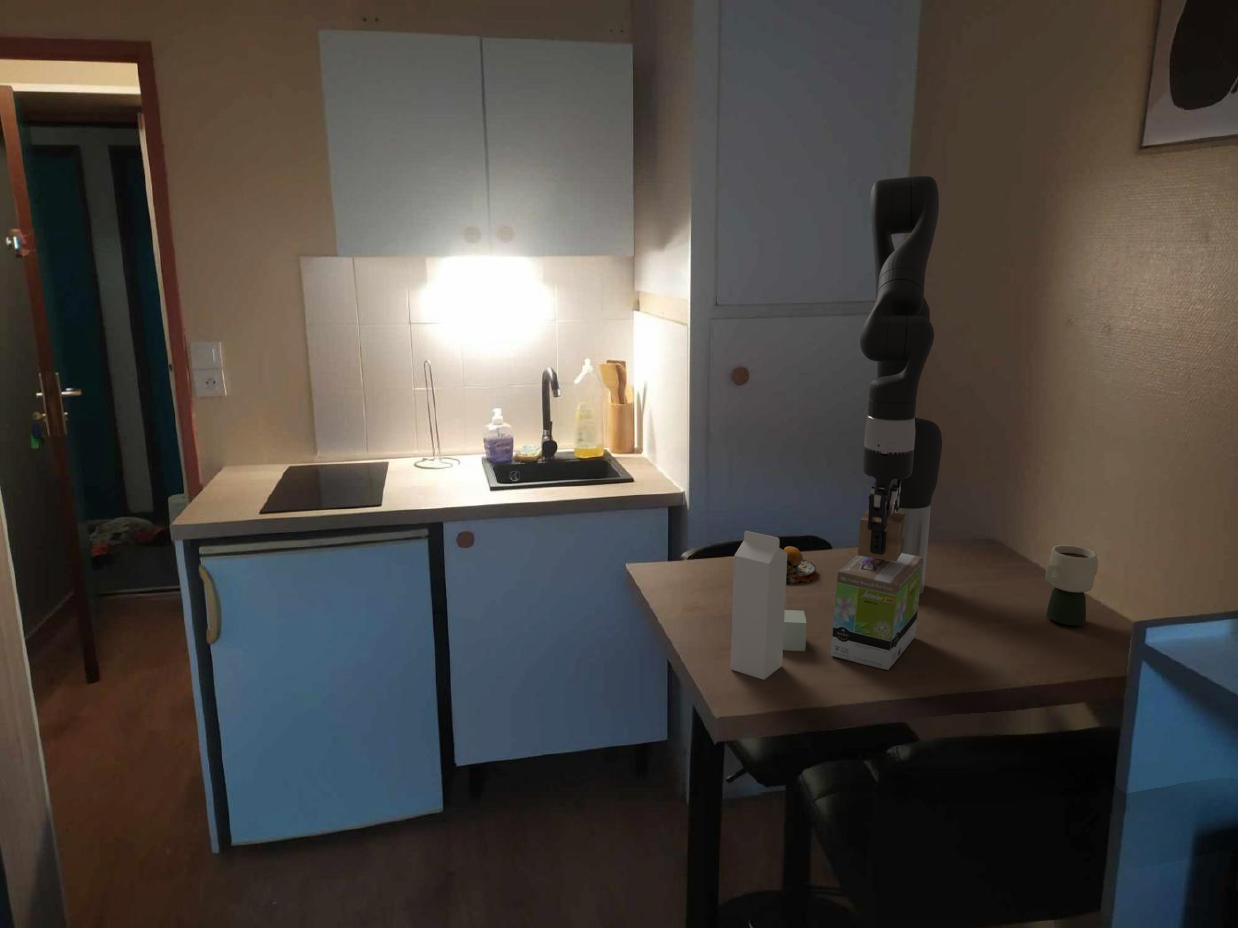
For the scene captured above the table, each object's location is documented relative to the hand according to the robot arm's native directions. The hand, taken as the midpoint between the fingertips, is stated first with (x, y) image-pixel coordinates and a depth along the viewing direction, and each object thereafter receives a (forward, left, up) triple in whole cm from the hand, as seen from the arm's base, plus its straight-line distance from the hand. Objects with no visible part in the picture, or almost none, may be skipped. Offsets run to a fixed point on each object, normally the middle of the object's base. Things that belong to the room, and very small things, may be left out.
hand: (881, 546), depth 150 cm
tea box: (0, 0, -18) cm, 18 cm away
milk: (+16, -15, -18) cm, 28 cm away
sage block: (+5, -13, -17) cm, 22 cm away
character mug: (-25, +28, -18) cm, 41 cm away
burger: (-26, -23, -18) cm, 39 cm away
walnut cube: (0, 0, -1) cm, 1 cm away
